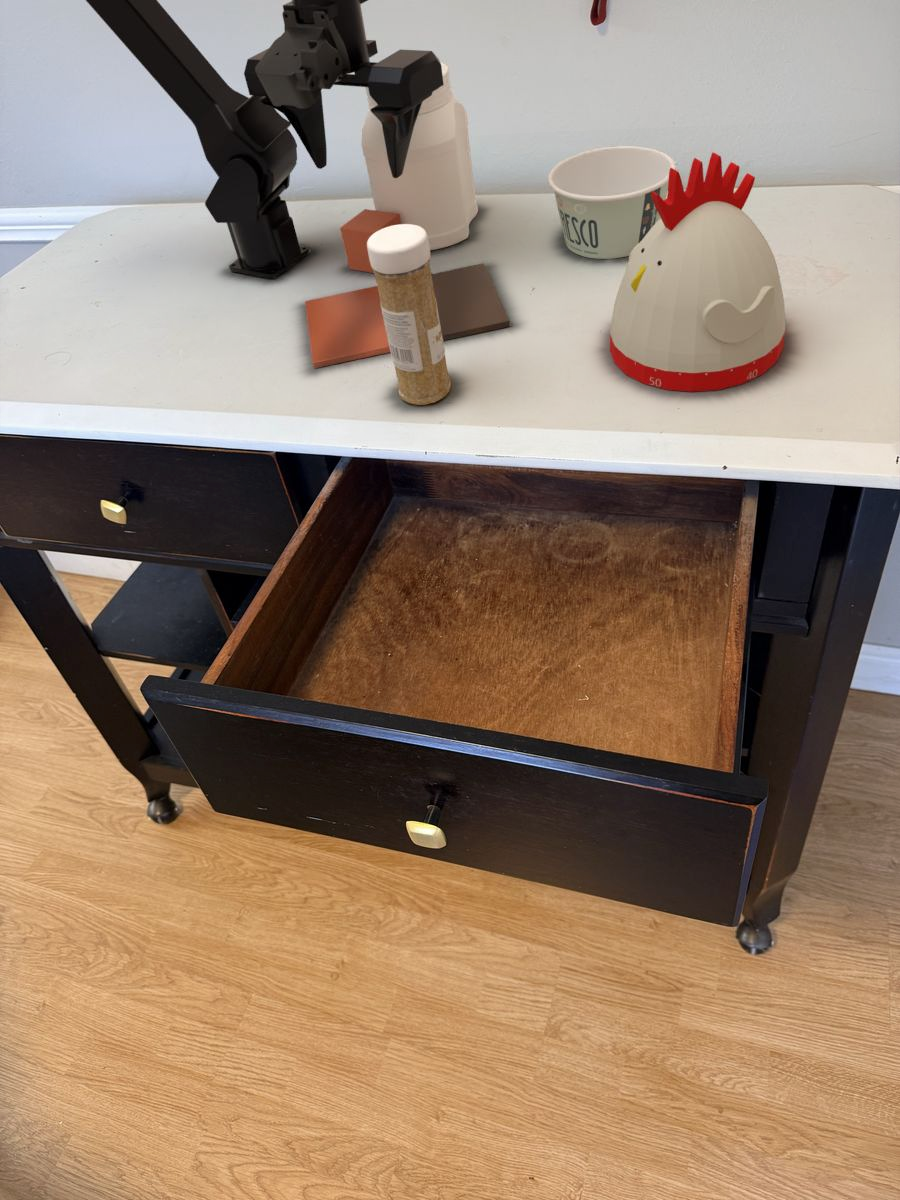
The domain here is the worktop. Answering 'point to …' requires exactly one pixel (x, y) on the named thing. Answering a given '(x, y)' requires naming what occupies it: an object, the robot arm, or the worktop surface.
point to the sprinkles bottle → (410, 311)
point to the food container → (609, 198)
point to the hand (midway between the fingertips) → (359, 171)
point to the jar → (427, 169)
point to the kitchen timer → (700, 290)
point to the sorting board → (358, 323)
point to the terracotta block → (364, 235)
